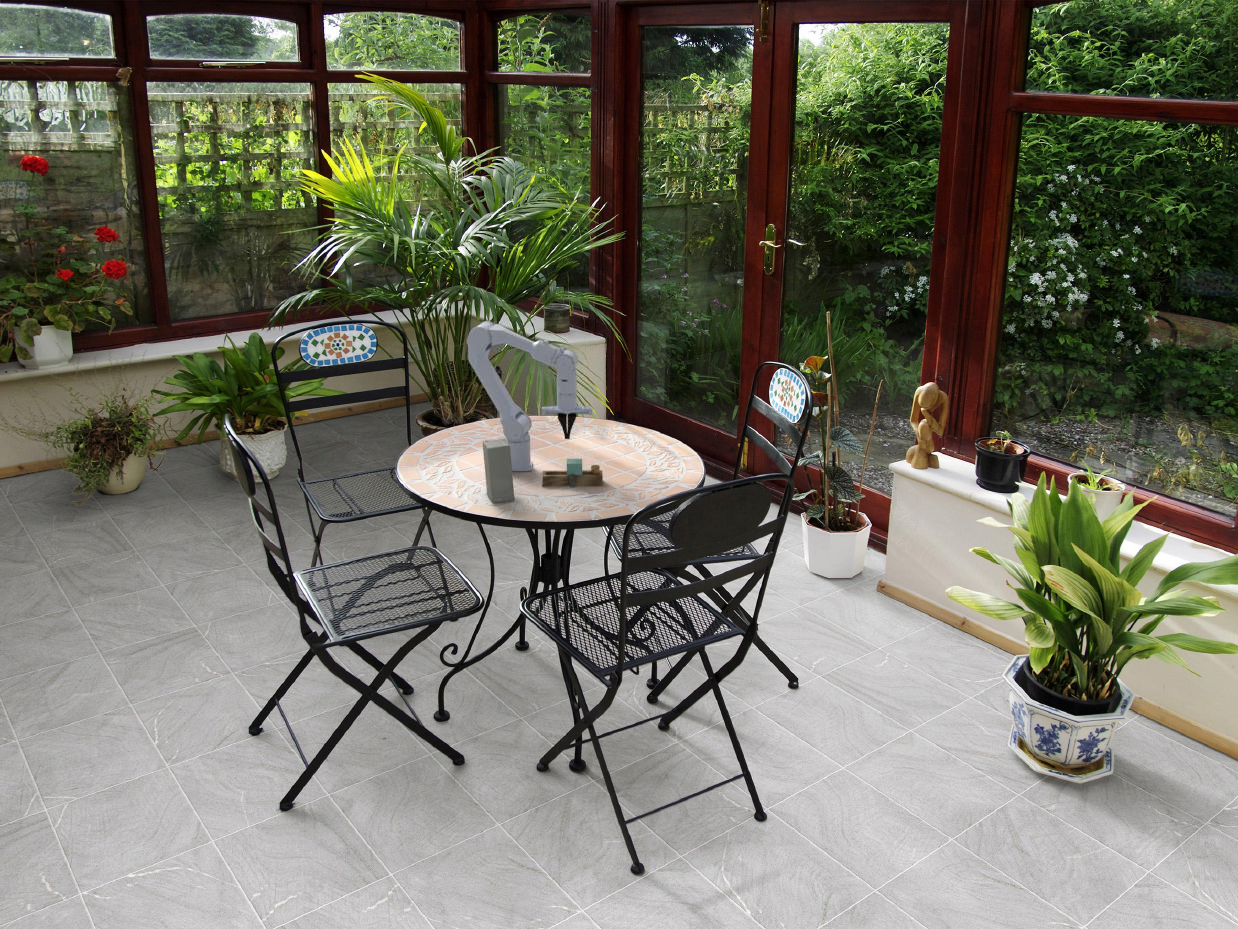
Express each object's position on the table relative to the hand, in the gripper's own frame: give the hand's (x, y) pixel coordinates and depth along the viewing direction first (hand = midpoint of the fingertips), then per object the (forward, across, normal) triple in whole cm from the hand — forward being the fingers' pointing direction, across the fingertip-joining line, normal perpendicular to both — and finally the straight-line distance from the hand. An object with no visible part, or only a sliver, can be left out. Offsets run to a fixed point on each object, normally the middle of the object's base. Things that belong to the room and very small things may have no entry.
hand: (567, 438), depth 321 cm
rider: (+8, +2, -11) cm, 14 cm away
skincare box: (+10, -18, -23) cm, 31 cm away
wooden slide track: (+10, +2, -11) cm, 15 cm away
